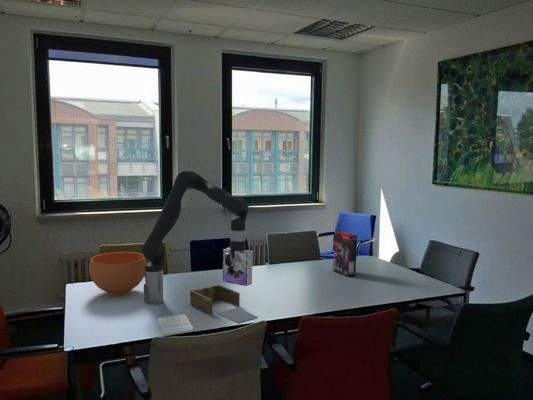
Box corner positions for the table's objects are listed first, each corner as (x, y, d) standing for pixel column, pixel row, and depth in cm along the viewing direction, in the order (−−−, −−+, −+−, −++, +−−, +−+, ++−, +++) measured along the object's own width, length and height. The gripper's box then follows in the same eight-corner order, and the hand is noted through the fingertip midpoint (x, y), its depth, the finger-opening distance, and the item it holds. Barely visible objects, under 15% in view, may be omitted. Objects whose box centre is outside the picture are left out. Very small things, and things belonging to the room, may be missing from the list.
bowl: (156, 288, 262) (155, 253, 259) (127, 304, 233) (126, 266, 231) (111, 283, 270) (111, 250, 267) (78, 298, 241) (77, 261, 239)
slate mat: (238, 323, 209) (238, 322, 209) (217, 313, 222) (217, 312, 222) (257, 317, 217) (257, 316, 217) (236, 308, 230) (236, 307, 230)
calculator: (184, 317, 218) (184, 313, 218) (194, 332, 199) (194, 328, 199) (157, 320, 213) (157, 316, 213) (164, 336, 194) (164, 332, 194)
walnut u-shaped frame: (210, 313, 221) (210, 300, 221) (190, 303, 236) (190, 290, 235) (239, 306, 233) (239, 293, 232) (218, 296, 247) (218, 284, 247)
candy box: (222, 282, 219) (222, 249, 217) (228, 279, 224) (228, 246, 222) (246, 286, 212) (246, 252, 210) (252, 283, 217) (253, 250, 216)
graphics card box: (332, 271, 306) (333, 231, 303) (340, 269, 309) (341, 231, 306) (348, 277, 291) (349, 236, 288) (356, 276, 294) (357, 235, 291)
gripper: (230, 242, 208) (230, 276, 210) (254, 238, 218) (253, 271, 219) (221, 239, 214) (220, 273, 216) (244, 236, 223) (244, 268, 225)
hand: (237, 272), depth 218 cm, fingers closed on candy box, 7 cm apart
